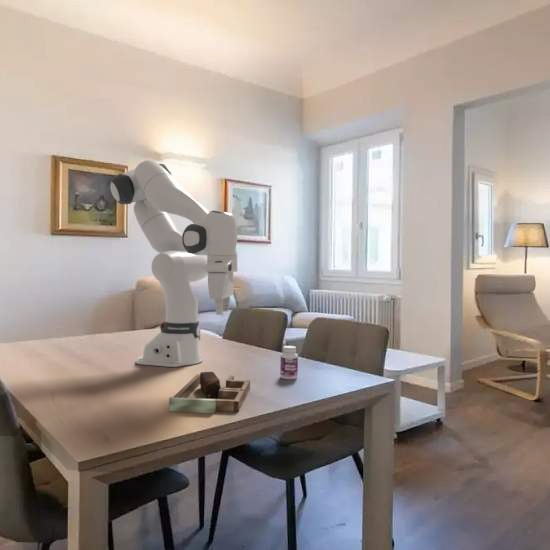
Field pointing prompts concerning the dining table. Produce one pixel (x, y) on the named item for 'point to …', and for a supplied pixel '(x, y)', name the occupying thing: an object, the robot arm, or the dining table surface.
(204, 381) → the brick
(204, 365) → the dining table surface
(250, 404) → the dining table surface
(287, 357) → the pill bottle
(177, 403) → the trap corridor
